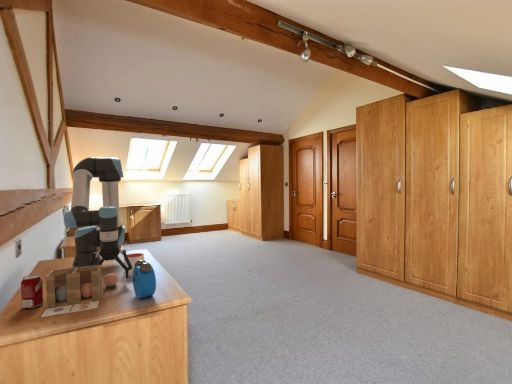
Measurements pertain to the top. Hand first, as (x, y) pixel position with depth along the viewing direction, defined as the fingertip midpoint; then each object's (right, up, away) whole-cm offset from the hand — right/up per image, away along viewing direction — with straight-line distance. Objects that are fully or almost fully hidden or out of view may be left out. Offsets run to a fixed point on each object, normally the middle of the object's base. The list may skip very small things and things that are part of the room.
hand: (110, 286), depth 133 cm
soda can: (-21, -2, -19) cm, 29 cm away
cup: (+3, 0, +20) cm, 20 cm away
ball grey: (-11, +3, -16) cm, 20 cm away
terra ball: (0, +3, 0) cm, 3 cm away
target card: (-3, -1, -23) cm, 23 cm away
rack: (-7, -1, -15) cm, 16 cm away
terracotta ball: (-3, +3, -13) cm, 14 cm away
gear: (0, 0, 0) cm, 0 cm away
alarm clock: (+20, 0, -12) cm, 24 cm away
